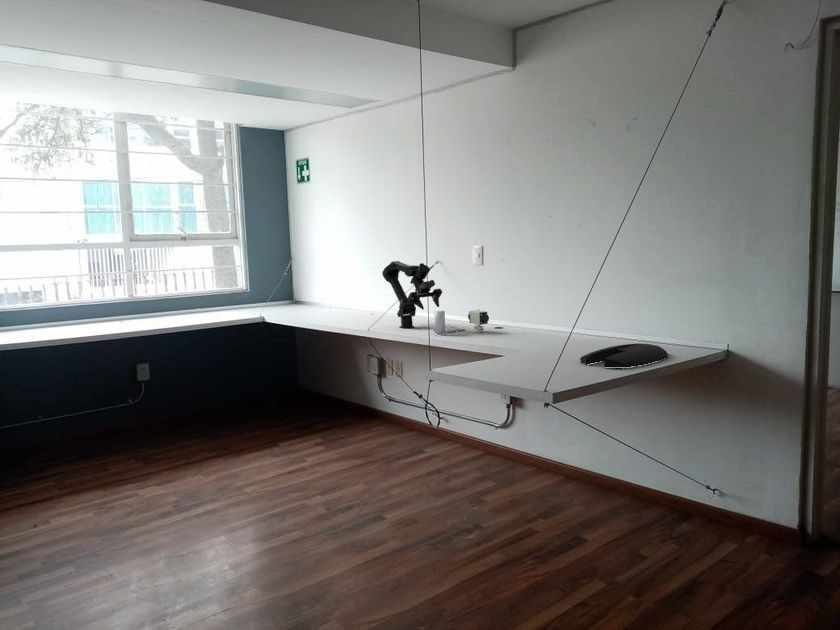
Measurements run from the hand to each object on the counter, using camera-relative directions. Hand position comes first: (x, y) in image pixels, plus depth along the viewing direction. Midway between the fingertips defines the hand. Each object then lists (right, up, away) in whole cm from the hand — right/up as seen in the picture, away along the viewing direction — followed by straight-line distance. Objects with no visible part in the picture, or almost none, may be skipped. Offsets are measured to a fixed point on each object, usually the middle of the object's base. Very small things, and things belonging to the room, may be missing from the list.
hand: (431, 308), depth 354 cm
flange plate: (+10, -12, +6) cm, 16 cm away
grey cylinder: (+5, -14, -5) cm, 16 cm away
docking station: (+77, -22, -84) cm, 116 cm away
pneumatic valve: (+25, -13, -2) cm, 28 cm away
